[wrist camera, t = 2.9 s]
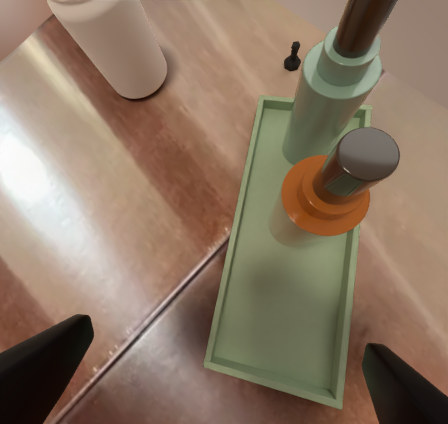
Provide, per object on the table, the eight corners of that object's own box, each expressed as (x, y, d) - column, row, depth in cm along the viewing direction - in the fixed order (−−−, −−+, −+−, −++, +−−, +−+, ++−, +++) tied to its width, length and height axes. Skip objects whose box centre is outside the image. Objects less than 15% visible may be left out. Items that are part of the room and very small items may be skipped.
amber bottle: (323, 241, 23) (471, 199, 7) (275, 252, 23) (322, 234, 8) (308, 196, 24) (409, 79, 9) (263, 207, 25) (282, 114, 9)
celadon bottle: (333, 161, 25) (472, -10, 9) (288, 172, 25) (349, 27, 9) (319, 123, 26) (420, -86, 10) (276, 134, 26) (312, -51, 11)
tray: (333, 395, 21) (342, 410, 19) (207, 357, 23) (202, 367, 21) (363, 117, 26) (372, 105, 24) (259, 106, 28) (259, 94, 26)
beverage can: (148, 110, 30) (82, 15, 18) (103, 89, 32) (17, -10, 20) (179, 64, 31) (136, -55, 19) (134, 46, 33) (70, -73, 21)
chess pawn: (300, 56, 29) (305, 33, 26) (300, 70, 28) (306, 48, 25) (284, 58, 29) (287, 35, 26) (284, 71, 29) (288, 50, 26)
